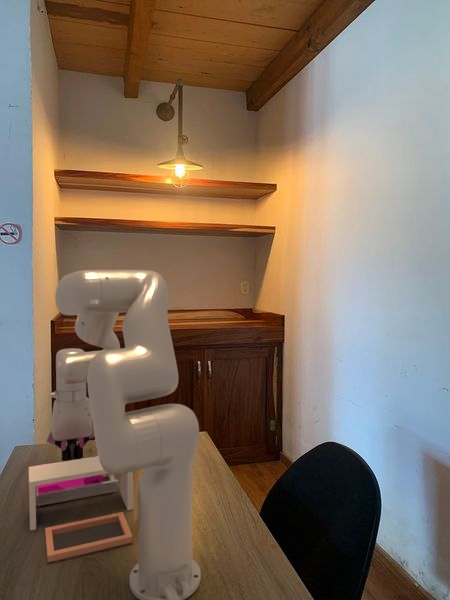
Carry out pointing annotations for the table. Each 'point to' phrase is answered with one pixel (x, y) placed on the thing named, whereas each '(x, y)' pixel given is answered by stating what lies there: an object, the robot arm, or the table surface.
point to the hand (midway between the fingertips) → (72, 461)
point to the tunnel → (70, 472)
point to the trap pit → (87, 537)
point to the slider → (79, 490)
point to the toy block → (69, 483)
